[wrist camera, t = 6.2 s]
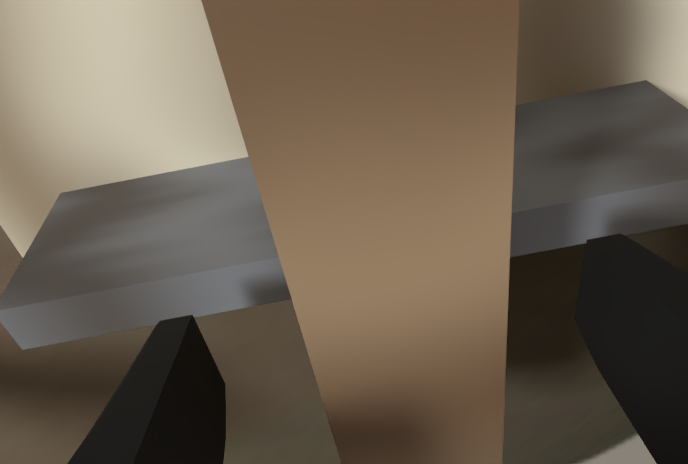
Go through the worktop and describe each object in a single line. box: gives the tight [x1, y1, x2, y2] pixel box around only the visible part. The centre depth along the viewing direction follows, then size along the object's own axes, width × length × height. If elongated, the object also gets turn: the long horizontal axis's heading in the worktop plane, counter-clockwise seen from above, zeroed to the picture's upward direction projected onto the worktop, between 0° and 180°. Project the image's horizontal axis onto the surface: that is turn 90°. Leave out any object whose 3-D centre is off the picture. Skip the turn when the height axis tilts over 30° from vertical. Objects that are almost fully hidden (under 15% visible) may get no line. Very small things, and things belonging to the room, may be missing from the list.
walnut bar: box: [201, 0, 520, 464], centre depth 10 cm, size 16×3×4 cm, turn 9°
